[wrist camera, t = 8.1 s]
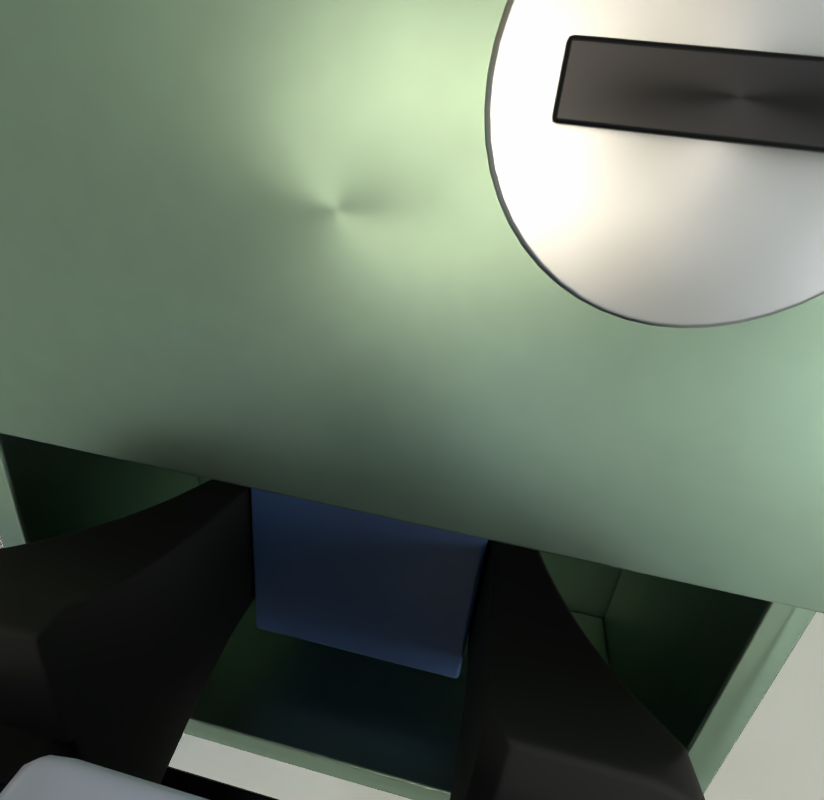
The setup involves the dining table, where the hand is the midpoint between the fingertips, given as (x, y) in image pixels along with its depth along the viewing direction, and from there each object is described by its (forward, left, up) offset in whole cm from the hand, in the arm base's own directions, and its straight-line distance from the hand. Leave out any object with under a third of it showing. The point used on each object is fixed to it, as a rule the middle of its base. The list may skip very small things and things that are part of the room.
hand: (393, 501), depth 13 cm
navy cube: (0, 0, -1) cm, 1 cm away
